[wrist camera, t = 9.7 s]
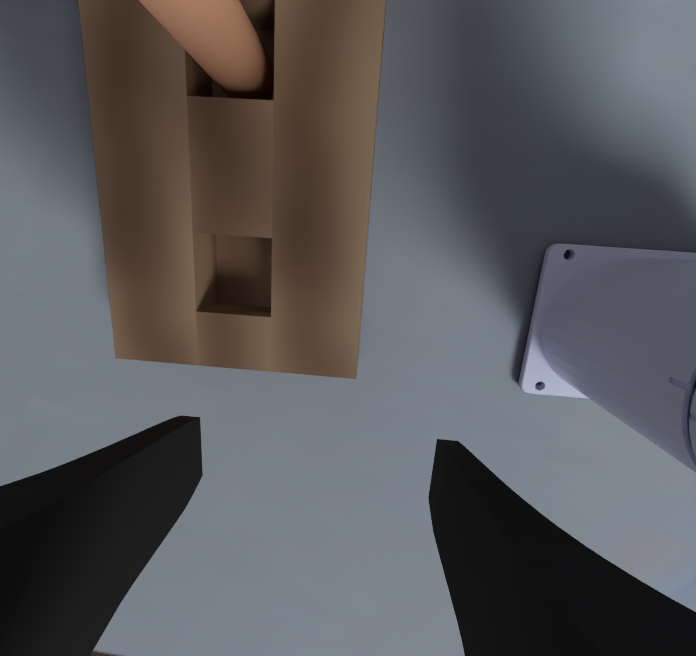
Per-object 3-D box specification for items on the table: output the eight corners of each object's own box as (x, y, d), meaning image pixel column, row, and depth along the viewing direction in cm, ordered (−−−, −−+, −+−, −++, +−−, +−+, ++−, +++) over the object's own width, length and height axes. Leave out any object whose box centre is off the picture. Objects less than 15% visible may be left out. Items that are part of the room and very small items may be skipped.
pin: (276, 48, 15) (183, -154, 8) (274, 110, 16) (186, -18, 8) (222, 44, 15) (74, -161, 8) (223, 106, 16) (86, -24, 8)
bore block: (388, -29, 15) (393, -95, 12) (357, 358, 19) (356, 378, 16) (124, -38, 15) (67, -105, 12) (152, 341, 20) (115, 358, 17)
